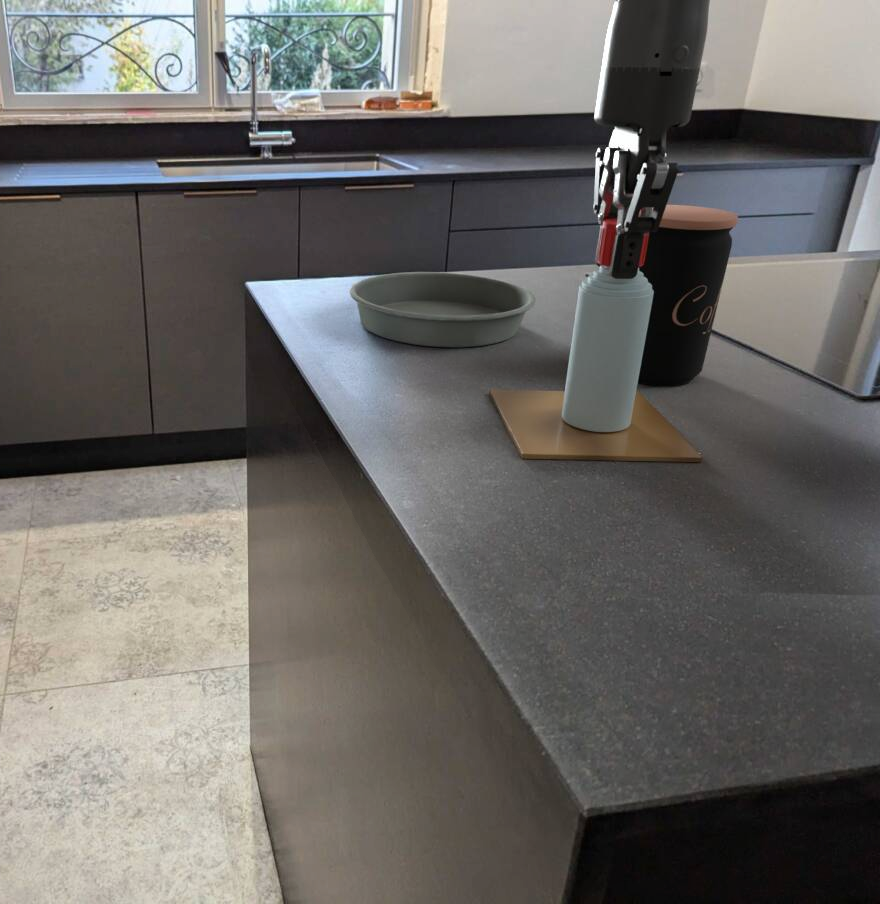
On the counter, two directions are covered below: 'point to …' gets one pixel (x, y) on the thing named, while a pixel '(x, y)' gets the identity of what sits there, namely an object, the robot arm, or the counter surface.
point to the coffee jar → (683, 290)
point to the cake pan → (441, 308)
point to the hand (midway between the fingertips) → (614, 271)
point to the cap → (608, 243)
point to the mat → (551, 437)
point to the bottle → (606, 351)
